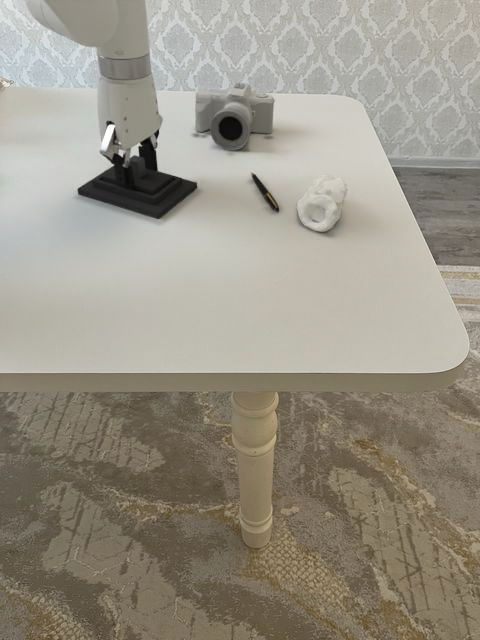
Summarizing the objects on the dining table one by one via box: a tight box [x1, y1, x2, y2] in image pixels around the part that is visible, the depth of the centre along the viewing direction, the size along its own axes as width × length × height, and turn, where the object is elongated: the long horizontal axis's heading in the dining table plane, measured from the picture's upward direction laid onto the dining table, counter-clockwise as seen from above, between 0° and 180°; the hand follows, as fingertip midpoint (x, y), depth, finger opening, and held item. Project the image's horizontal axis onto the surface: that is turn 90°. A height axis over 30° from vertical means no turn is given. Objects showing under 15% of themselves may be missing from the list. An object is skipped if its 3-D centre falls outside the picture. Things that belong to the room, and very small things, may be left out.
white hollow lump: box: [295, 173, 348, 232], centre depth 95 cm, size 9×12×8 cm
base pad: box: [77, 165, 198, 220], centre depth 100 cm, size 16×12×2 cm
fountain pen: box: [250, 171, 280, 212], centre depth 101 cm, size 14×1×2 cm, turn 19°
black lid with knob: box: [102, 154, 174, 196], centre depth 98 cm, size 10×6×4 cm, turn 64°
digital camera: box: [194, 82, 276, 152], centre depth 116 cm, size 17×14×10 cm
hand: (137, 177), depth 99 cm, fingers closed on black lid with knob, 6 cm apart
